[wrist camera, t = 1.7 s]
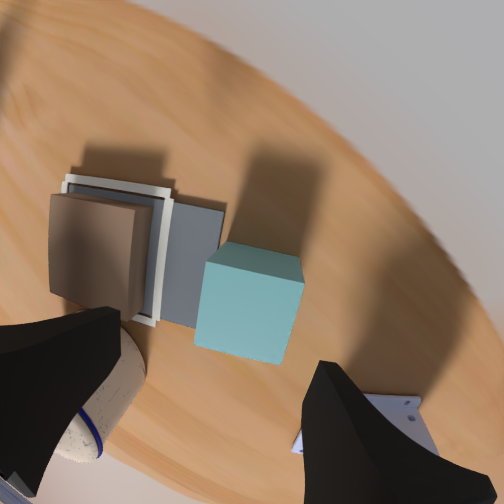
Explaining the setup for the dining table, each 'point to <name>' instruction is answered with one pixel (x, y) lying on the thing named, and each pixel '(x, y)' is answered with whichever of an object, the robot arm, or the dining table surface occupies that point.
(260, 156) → the dining table surface
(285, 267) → the teal cube
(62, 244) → the walnut base
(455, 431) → the dining table surface
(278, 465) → the dining table surface
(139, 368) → the teacup with lid
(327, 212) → the dining table surface
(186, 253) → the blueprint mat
